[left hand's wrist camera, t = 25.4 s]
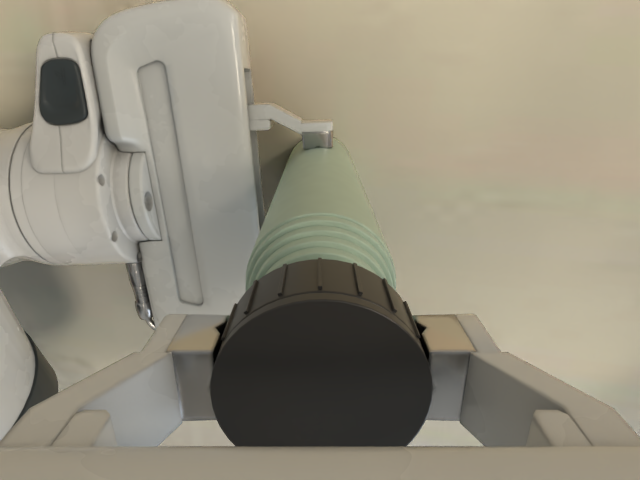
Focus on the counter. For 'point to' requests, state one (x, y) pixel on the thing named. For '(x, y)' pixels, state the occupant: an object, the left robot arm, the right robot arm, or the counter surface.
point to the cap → (321, 362)
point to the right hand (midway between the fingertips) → (334, 183)
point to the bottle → (320, 217)
